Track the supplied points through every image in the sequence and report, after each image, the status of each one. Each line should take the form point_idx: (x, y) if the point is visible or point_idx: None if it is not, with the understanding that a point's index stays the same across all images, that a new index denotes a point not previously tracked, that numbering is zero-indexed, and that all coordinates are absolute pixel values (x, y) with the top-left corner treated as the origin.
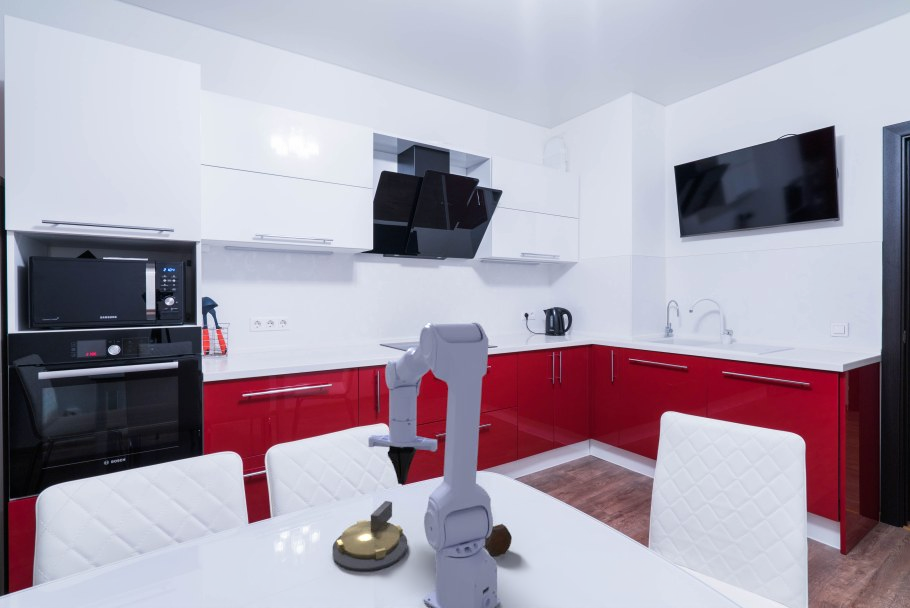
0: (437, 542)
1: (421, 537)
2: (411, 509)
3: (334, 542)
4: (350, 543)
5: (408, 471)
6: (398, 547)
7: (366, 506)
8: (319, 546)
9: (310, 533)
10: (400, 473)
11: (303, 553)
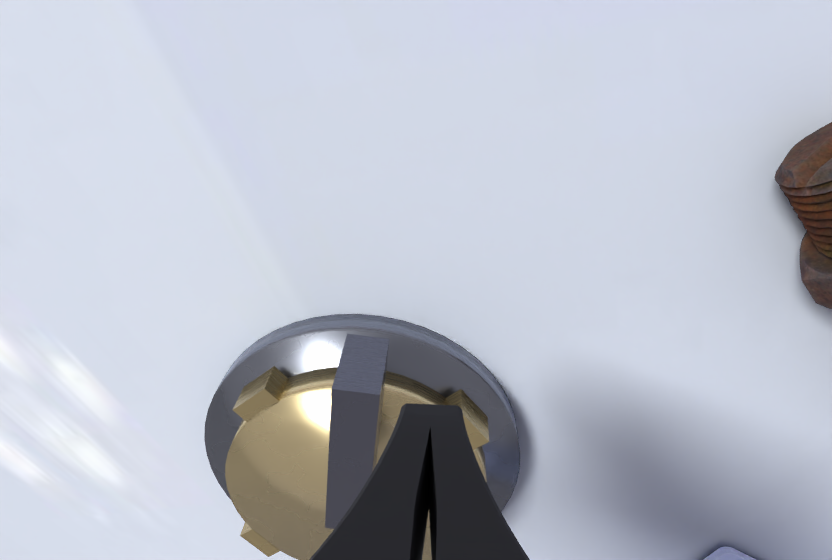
0: None
1: (563, 331)
2: (433, 25)
3: (212, 469)
4: (305, 546)
5: (475, 461)
6: (488, 469)
7: (108, 45)
8: (155, 443)
9: (44, 371)
10: (421, 551)
11: (133, 483)
